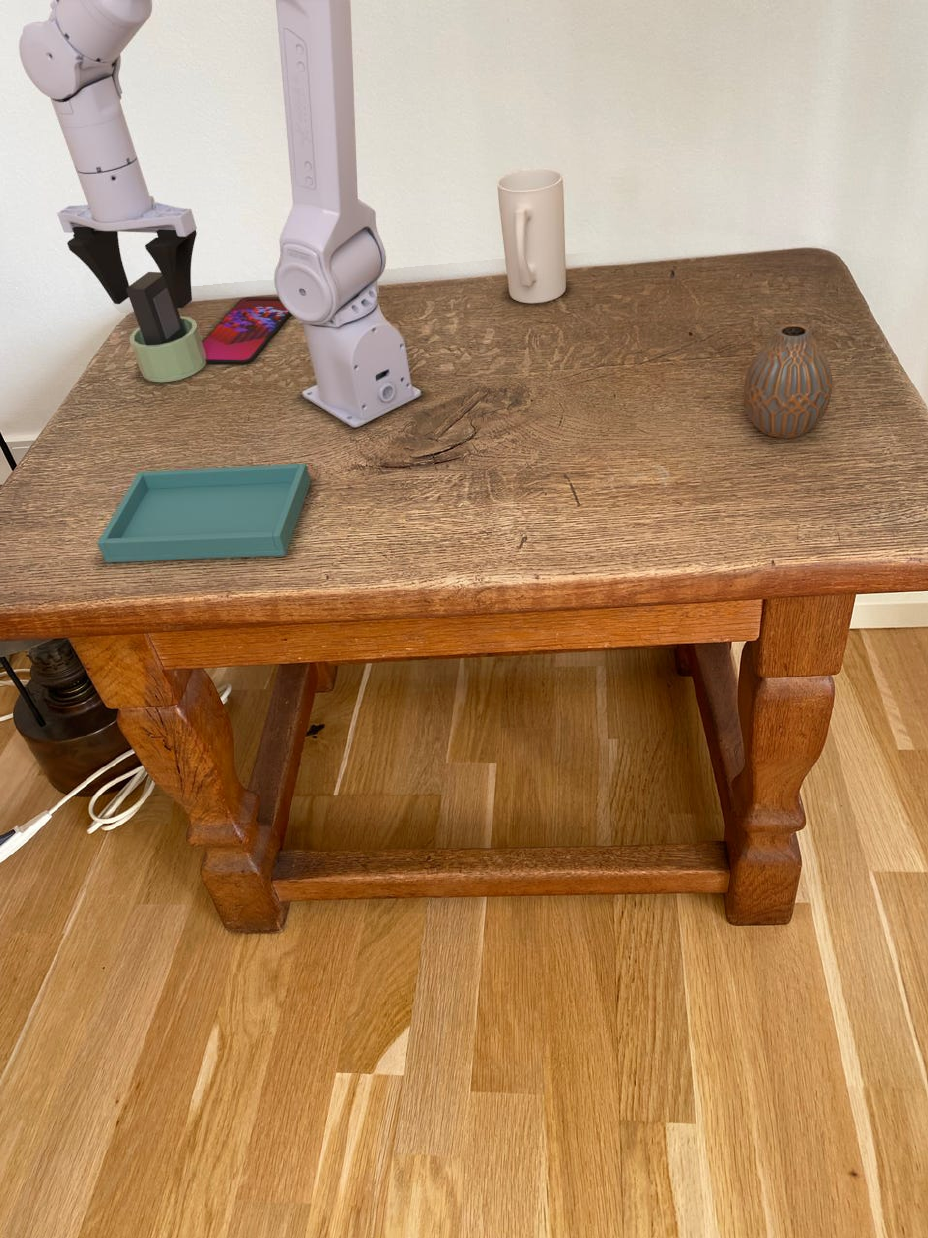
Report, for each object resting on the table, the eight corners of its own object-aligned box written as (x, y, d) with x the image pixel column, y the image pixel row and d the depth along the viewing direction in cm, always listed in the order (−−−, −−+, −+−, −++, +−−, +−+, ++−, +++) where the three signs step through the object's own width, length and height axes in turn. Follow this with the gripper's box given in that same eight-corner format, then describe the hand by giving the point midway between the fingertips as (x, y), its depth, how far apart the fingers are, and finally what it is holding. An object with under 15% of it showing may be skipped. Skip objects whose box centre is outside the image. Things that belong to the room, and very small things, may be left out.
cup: (219, 363, 107) (208, 328, 104) (159, 389, 104) (147, 353, 101) (189, 344, 111) (178, 310, 109) (131, 368, 108) (118, 334, 106)
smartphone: (184, 359, 108) (241, 296, 118) (187, 367, 108) (243, 303, 119) (250, 361, 106) (302, 296, 116) (252, 368, 106) (304, 303, 117)
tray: (311, 482, 87) (306, 462, 86) (285, 555, 80) (279, 535, 79) (145, 490, 90) (138, 471, 88) (105, 562, 82) (96, 543, 81)
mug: (514, 278, 114) (505, 168, 106) (573, 278, 112) (568, 166, 104) (493, 318, 107) (481, 204, 99) (556, 319, 105) (549, 202, 97)
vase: (735, 408, 88) (741, 314, 83) (816, 401, 88) (828, 306, 82) (749, 451, 83) (757, 354, 77) (835, 444, 83) (849, 346, 77)
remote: (193, 353, 108) (167, 272, 102) (173, 371, 105) (145, 289, 100) (175, 352, 109) (148, 271, 103) (154, 370, 106) (125, 288, 100)
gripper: (195, 148, 94) (233, 288, 103) (71, 148, 99) (118, 281, 108) (152, 175, 89) (196, 319, 98) (24, 173, 94) (78, 311, 103)
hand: (153, 301), depth 103 cm, fingers open, 7 cm apart
